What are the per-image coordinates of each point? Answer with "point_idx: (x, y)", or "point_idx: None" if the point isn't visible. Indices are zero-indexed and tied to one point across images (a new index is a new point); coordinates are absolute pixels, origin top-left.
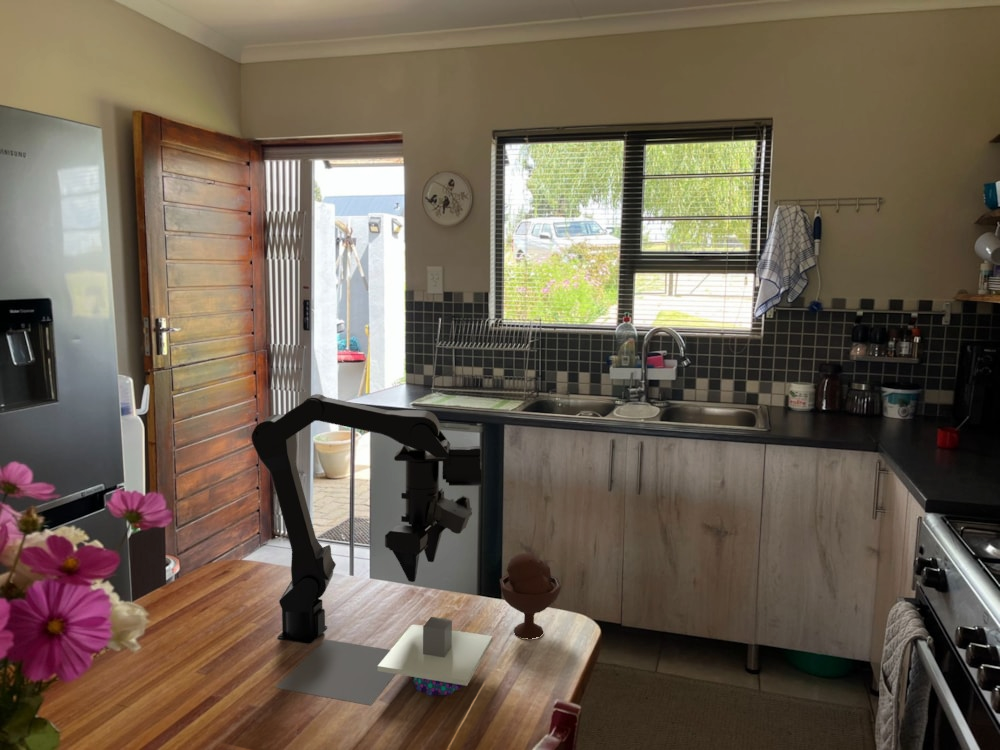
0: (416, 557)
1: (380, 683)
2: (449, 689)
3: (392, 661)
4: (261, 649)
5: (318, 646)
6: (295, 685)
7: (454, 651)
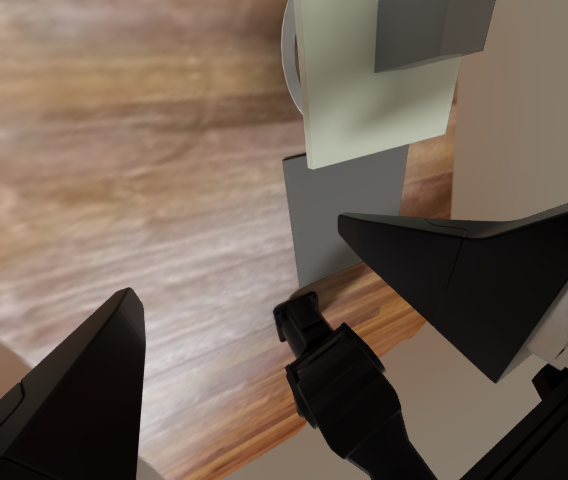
0: (496, 222)
1: None
2: None
3: (435, 116)
4: (336, 314)
5: (318, 280)
6: None
7: None
